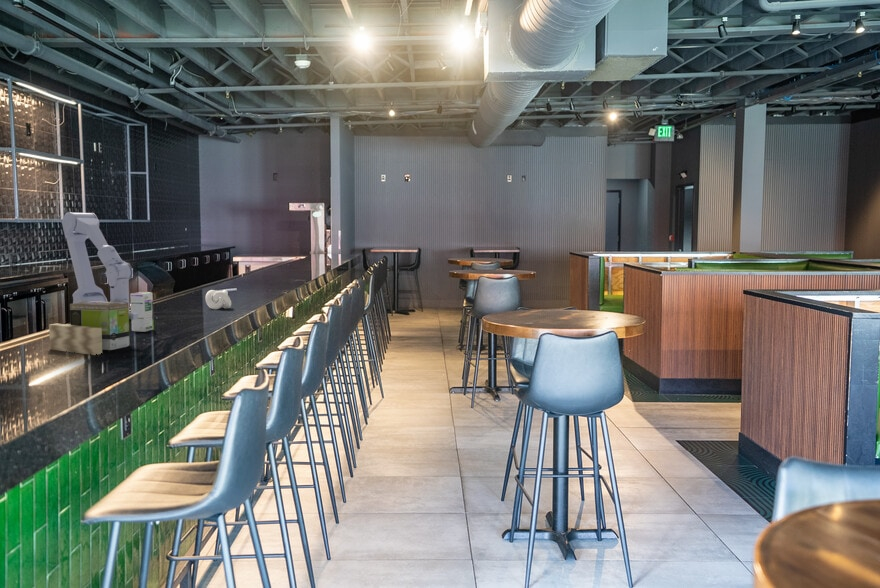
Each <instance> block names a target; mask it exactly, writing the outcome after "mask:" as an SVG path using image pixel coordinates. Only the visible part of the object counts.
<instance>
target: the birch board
mask: <svg viewBox="0 0 880 588" xmlns="http://www.w3.org/2000/svg"><path fill="white" fill-rule="evenodd" d="M48 327H49V330H48V332H49V350H52V351H61V352H66V351H67V353H74V352H75V353H74V354H83V355H90V354H91V356H96V354H97V355H101V353H102V354H103V350H102V328H96V327H86V326H77V325H70V324H67V323H51V324H48Z"/></svg>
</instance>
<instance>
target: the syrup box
mask: <svg viewBox="0 0 880 588" xmlns="http://www.w3.org/2000/svg"><path fill="white" fill-rule="evenodd" d="M153 294H154V293H153V292H152V291H151V292H150V291H138V292H134V293H133V292H132V293H129V296H130V312H133V313H138V319H135V320H132V319H131V320H132V321H131V331H132V332H145V333H146V332H149V331H153V330H154V329H155V326H154V324H155V323H154V322H155V321H154V298H153Z"/></svg>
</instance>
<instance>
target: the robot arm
mask: <svg viewBox="0 0 880 588" xmlns="http://www.w3.org/2000/svg"><path fill="white" fill-rule="evenodd" d="M61 225H62V231H63V233H64V237H65V239H66V243H67V247H68V251H69V254H70V259H71V263H72V268H73V271H74V272H73V273H74V275H75V279H76V284H77V289H76V290H75V291H74V292H73V293H72V295H71V296H72V304H73V303H81V302H89V301H95V302H127V303H128V308H129V309H130V286H129V285H130V283H129V280H131V278H132V277H133V269H132V266H131V263H129V262H126V261H125V260H123V259H122V258H121V257H120V255H119V254H118V251H117V249H116V248H115V247H114V246H112V245H109V244H108V243H107V242H108V241H107V240H106V239H105V236H104V234H103V232H102V230H101V229H100V220H99V219H98V216H97V215H96V214H95V213H94V212H71V211H67V212H66V213H64V215H63V217H62V220H61ZM87 239H89V240H90V241H91V242H92V244H93V245H94V246H95V248H96V249H97V250H98V251H97V254H96V255H97V257H98V259H100V261H101V263H102V264H103V266H104V268H105V269H106V270H105V276H106V279H107V281H108V282H107V283H108V285H109V292H110V293H109V294H110V295H109V296H110V300H109V301H108V299H107V297H106V295H105V293H104V290H103V289H102V288H101V287H99V286H97V285H96V281H95V278H94V275H93V270H92V266H91V262H90V257H89V254H88V250H87V247H86V240H87ZM131 319H132V320H135V319H138V313H133V312H131V311H129V325H130V324H131V323H132V320H131Z"/></svg>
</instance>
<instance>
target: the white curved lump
mask: <svg viewBox="0 0 880 588" xmlns="http://www.w3.org/2000/svg"><path fill="white" fill-rule="evenodd" d="M228 291H229V290H227V289H223V290H215V289H210V290H208V291H207V292H206V294H205V297H204V298H205V303H206V305H207V306H208V307H209V308H210V309H212V310H220V309H221V308H224V309H230V308H231V307H232V300H231V298H230V296H229V295H228V294H229V292H228Z"/></svg>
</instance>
